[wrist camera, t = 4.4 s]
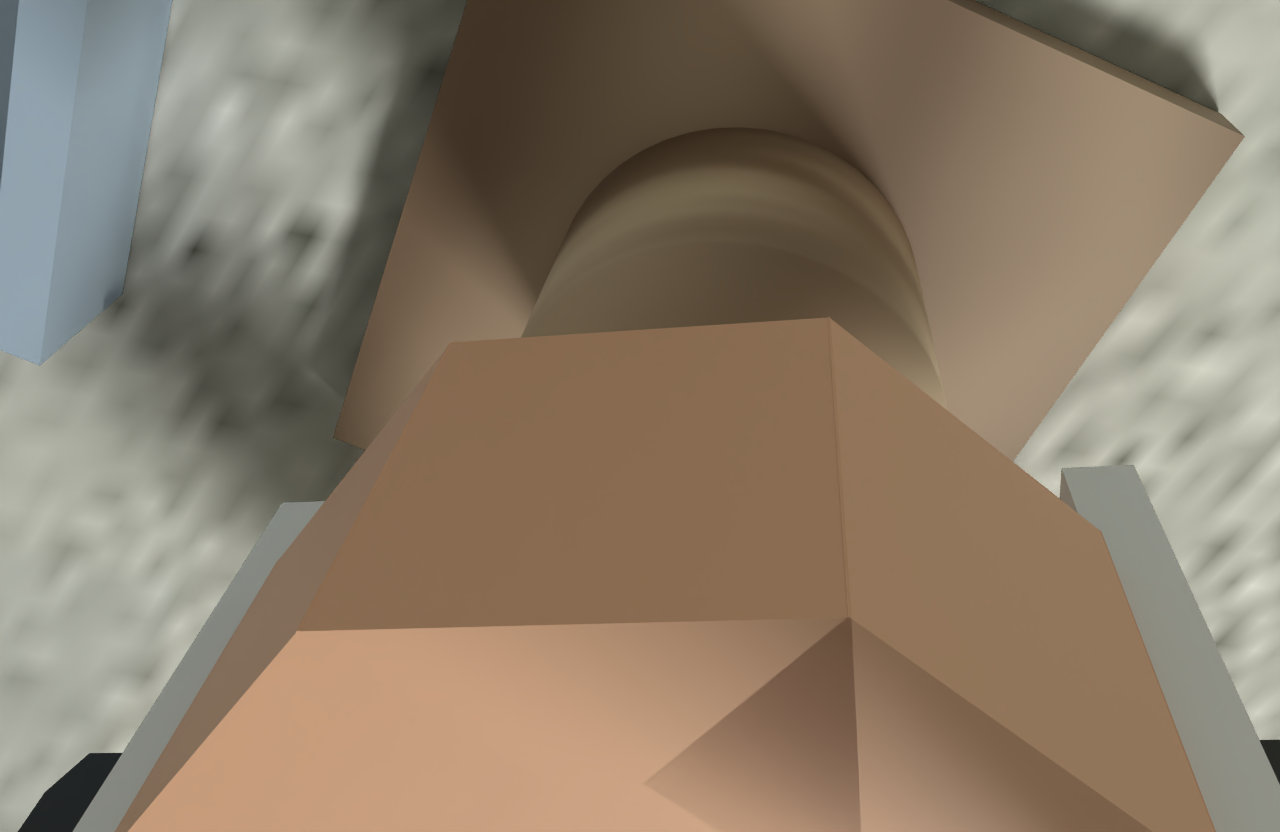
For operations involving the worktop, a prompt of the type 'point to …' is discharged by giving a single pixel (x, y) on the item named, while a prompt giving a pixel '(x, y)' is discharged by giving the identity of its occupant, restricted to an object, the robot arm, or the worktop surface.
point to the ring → (681, 616)
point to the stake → (787, 190)
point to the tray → (71, 159)
